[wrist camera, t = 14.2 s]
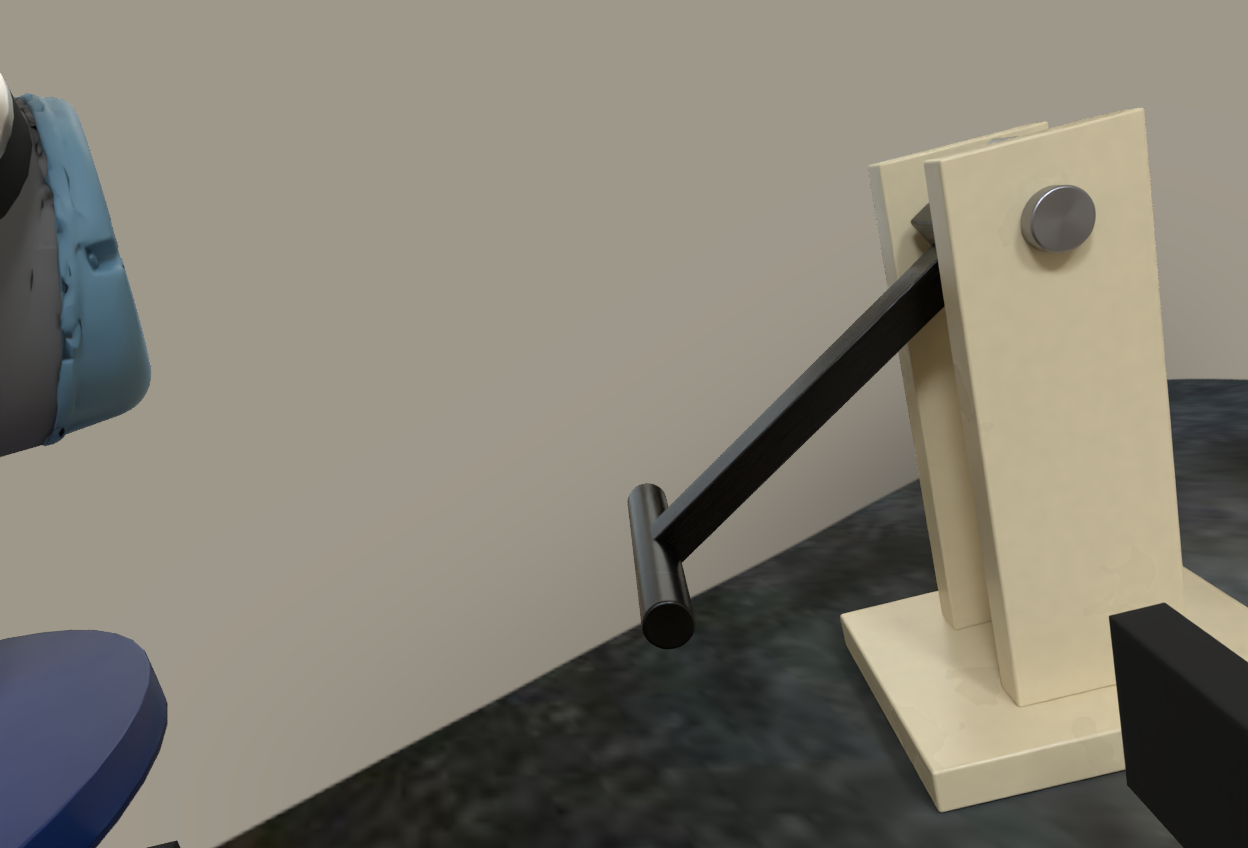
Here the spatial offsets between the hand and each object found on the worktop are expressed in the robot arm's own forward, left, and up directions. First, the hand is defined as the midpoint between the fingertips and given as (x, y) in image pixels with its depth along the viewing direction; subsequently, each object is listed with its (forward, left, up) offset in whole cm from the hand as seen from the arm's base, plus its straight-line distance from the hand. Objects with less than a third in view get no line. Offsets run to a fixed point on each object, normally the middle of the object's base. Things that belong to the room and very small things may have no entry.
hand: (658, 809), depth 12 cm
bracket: (+11, +11, -8) cm, 17 cm away
